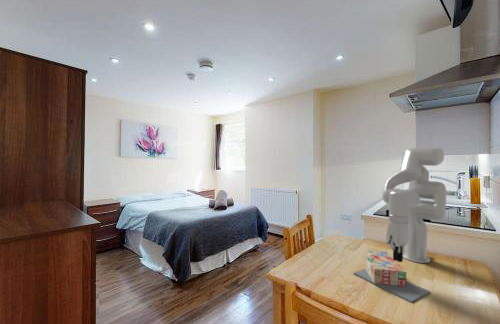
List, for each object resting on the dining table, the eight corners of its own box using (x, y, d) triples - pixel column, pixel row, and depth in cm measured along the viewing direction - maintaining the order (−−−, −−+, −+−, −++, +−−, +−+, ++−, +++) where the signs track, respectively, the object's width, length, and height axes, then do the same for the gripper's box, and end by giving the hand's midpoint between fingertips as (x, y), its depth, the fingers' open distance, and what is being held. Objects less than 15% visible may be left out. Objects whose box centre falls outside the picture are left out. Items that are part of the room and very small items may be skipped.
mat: (372, 267, 111) (372, 266, 111) (430, 292, 91) (430, 291, 91) (353, 274, 105) (353, 272, 105) (411, 302, 84) (411, 301, 84)
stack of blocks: (386, 264, 114) (359, 261, 117) (386, 251, 114) (360, 249, 117) (406, 287, 93) (373, 283, 96) (406, 271, 93) (373, 268, 96)
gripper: (399, 215, 108) (398, 254, 108) (380, 218, 100) (379, 260, 100) (416, 219, 101) (416, 260, 101) (398, 223, 94) (397, 267, 94)
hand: (397, 260), depth 101 cm, fingers closed
